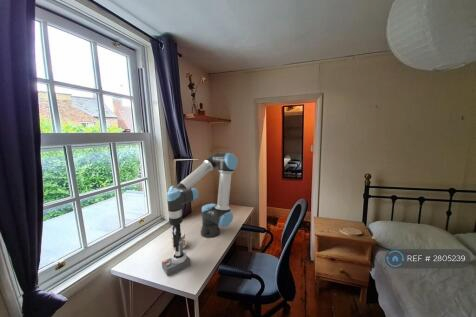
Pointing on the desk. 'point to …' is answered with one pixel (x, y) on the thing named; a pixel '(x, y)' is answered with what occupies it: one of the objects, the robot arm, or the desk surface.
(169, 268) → the camera body
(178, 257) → the grey flashlight
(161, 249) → the desk surface
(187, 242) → the teacup with lid
